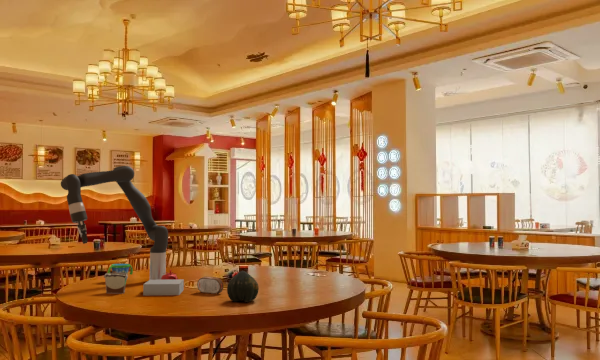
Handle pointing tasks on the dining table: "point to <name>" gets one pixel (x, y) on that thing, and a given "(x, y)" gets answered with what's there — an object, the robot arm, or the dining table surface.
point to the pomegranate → (169, 276)
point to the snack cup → (120, 268)
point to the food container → (115, 282)
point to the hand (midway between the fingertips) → (85, 242)
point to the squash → (242, 287)
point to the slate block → (163, 287)
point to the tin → (210, 285)
